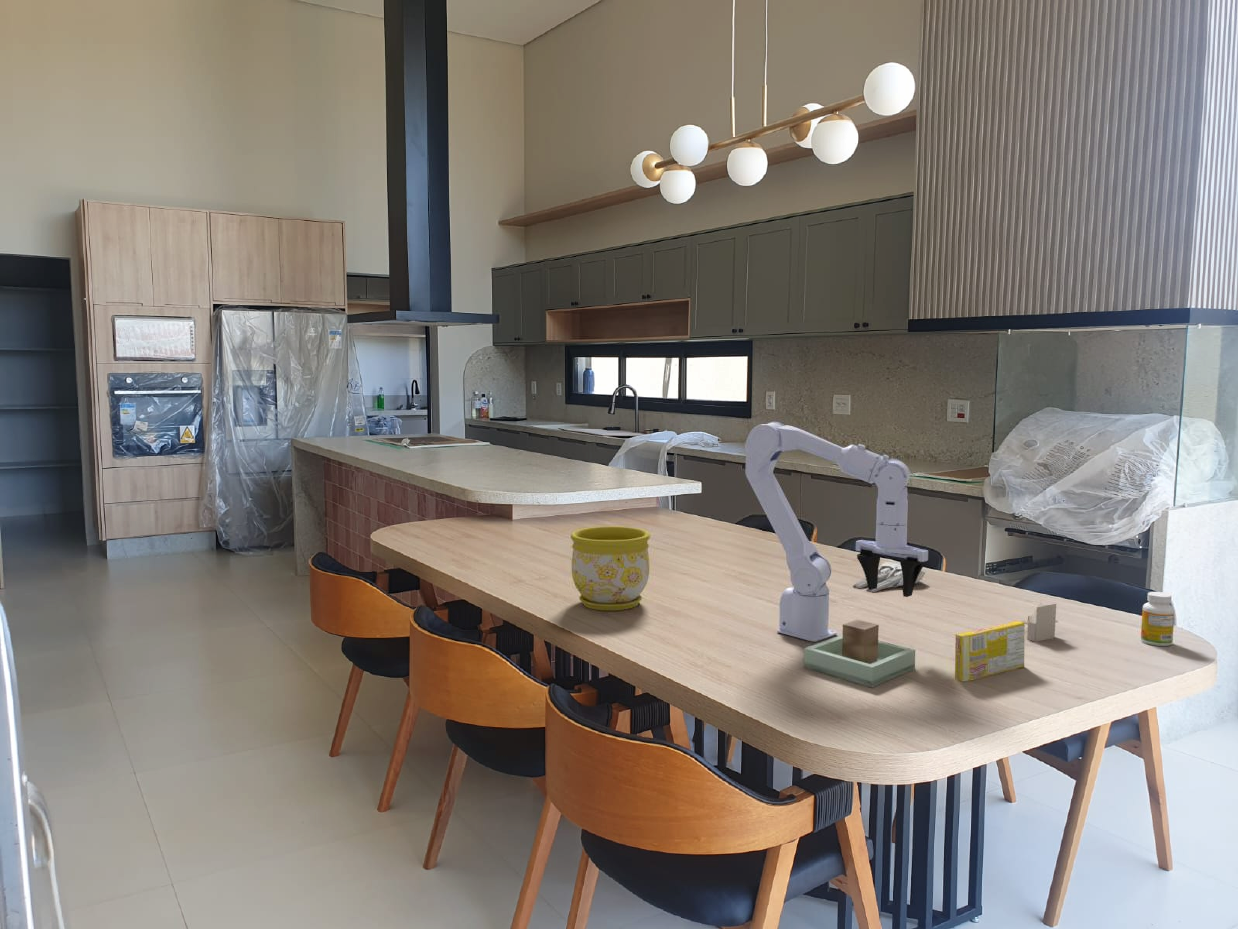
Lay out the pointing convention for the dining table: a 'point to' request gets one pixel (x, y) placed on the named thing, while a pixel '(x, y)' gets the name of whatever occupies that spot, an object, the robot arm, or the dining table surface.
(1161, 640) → the supplement bottle
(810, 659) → the bin
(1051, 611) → the architectural model
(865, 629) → the walnut block
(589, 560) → the flowerpot
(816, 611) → the robot arm
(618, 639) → the dining table surface
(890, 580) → the turret
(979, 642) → the candy box
